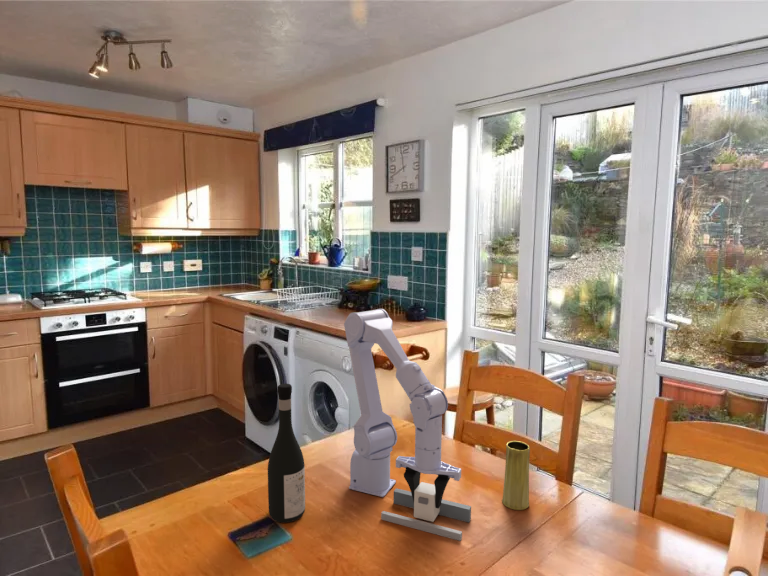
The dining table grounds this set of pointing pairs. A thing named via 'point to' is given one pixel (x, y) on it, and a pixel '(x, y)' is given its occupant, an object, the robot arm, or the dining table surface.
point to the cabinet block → (425, 502)
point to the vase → (516, 476)
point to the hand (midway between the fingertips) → (427, 503)
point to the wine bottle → (286, 467)
